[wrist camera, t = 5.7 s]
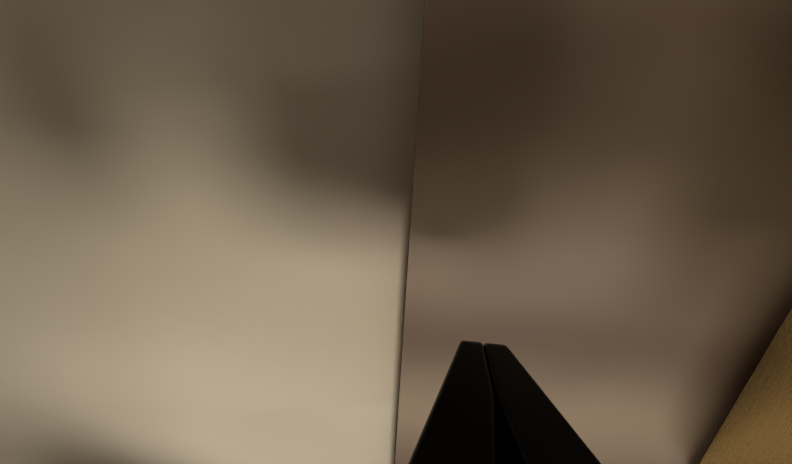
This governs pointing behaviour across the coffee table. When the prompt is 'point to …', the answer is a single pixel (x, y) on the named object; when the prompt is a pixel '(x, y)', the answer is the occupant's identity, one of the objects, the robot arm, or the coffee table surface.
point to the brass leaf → (761, 411)
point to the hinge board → (603, 210)
